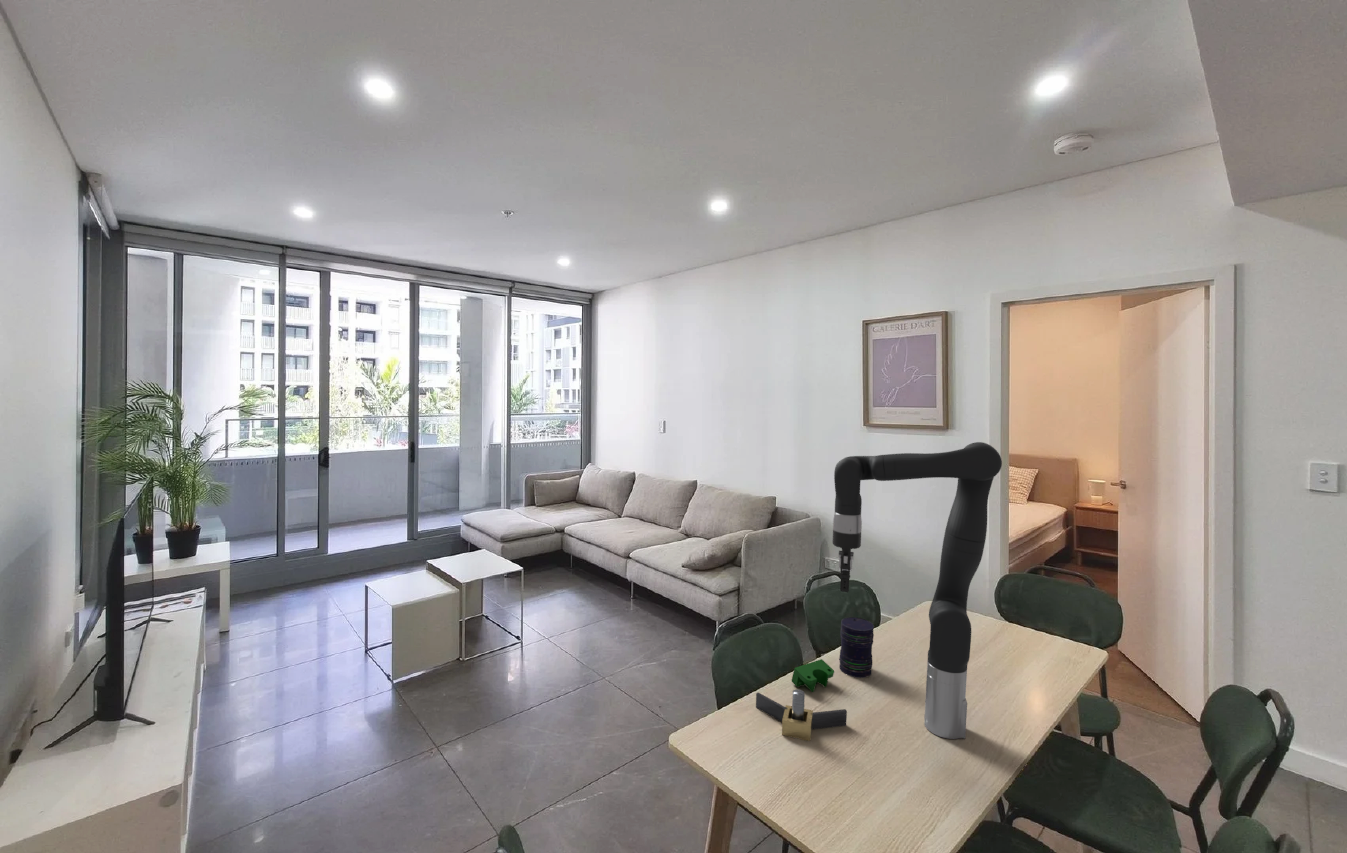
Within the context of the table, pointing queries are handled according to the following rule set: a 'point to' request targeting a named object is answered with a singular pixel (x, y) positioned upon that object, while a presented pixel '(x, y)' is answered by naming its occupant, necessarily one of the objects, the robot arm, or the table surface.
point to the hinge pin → (798, 705)
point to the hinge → (795, 726)
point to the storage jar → (856, 647)
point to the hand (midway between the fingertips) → (844, 586)
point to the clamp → (812, 674)
